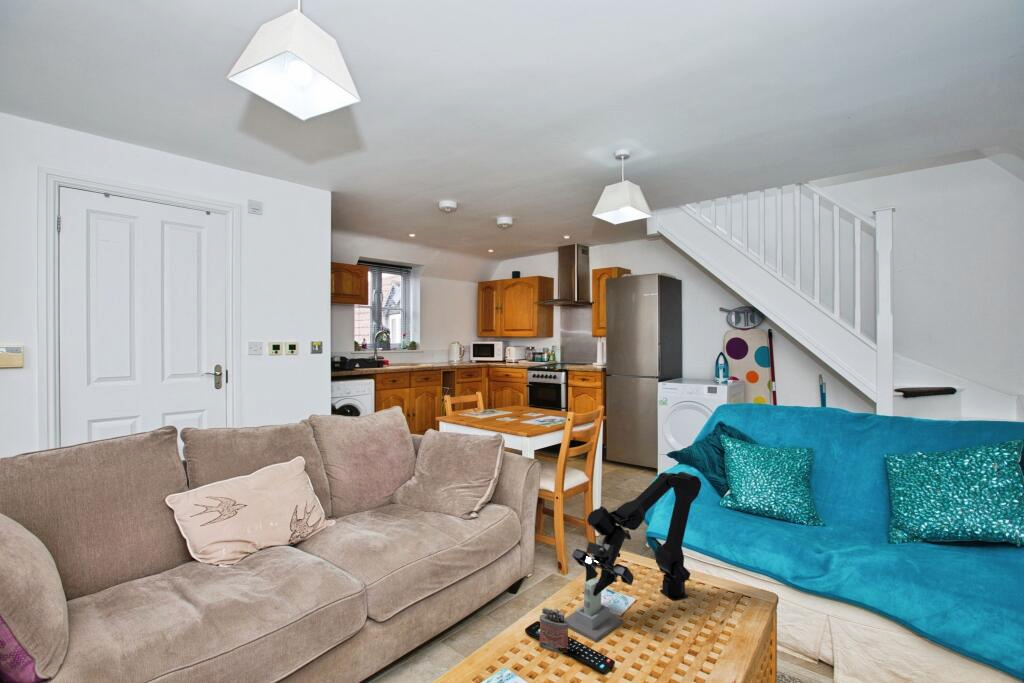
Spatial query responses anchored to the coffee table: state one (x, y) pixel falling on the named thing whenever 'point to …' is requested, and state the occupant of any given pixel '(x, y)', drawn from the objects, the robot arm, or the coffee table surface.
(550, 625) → the lighter
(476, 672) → the coffee table surface
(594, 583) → the pale green rectangular block
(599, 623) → the grey socket base
